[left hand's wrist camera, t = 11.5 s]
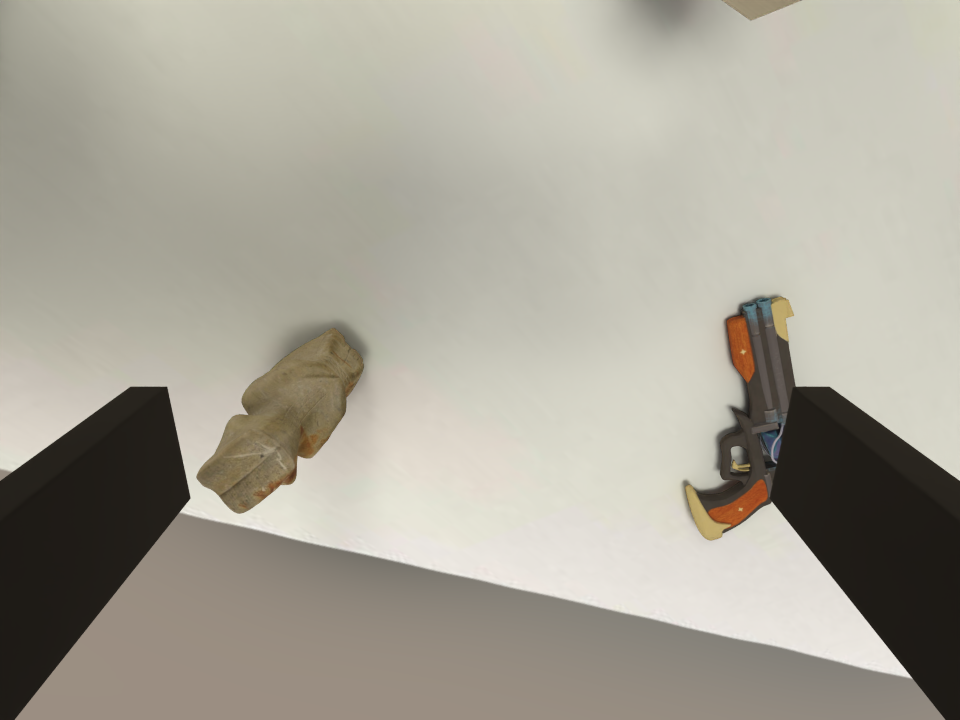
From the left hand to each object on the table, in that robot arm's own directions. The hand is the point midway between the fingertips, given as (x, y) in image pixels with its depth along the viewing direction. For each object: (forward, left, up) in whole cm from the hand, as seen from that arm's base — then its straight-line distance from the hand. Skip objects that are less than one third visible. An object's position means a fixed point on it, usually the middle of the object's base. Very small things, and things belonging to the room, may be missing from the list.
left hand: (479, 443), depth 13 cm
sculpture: (-9, -13, -30) cm, 34 cm away
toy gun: (+23, -9, -30) cm, 39 cm away
